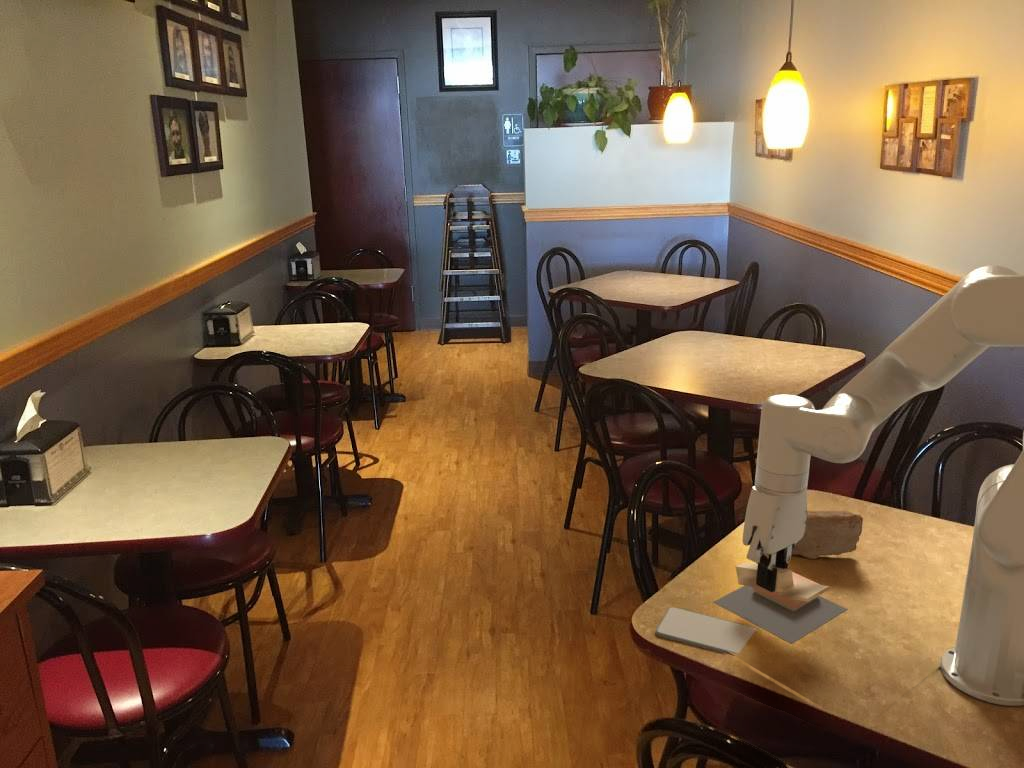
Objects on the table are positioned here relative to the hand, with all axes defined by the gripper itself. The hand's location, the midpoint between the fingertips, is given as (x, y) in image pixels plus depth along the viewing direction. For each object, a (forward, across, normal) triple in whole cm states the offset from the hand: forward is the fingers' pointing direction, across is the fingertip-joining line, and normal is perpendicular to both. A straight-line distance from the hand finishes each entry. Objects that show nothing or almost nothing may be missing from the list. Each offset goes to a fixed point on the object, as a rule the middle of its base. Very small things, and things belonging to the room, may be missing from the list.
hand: (770, 584), depth 131 cm
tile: (+5, -8, +2) cm, 10 cm away
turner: (0, 0, +2) cm, 2 cm away
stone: (+7, -22, -8) cm, 25 cm away
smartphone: (+7, +10, -4) cm, 13 cm away
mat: (+6, -5, -1) cm, 8 cm away
